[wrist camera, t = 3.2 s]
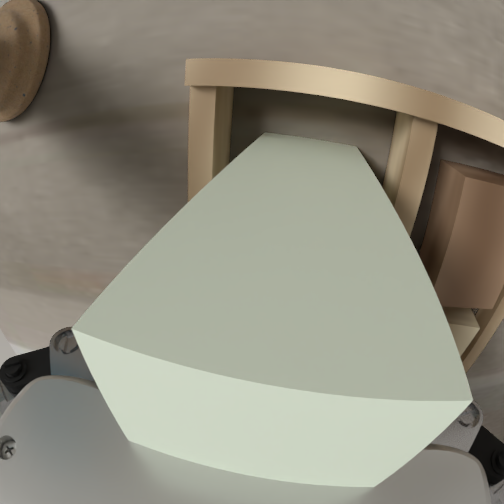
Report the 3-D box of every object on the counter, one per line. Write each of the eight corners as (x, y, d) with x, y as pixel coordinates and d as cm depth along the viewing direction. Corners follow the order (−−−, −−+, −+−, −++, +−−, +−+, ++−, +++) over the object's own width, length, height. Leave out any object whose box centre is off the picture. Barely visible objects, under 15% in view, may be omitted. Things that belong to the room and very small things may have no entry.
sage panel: (356, 146, 12) (472, 400, 2) (313, 333, 18) (286, 536, 8) (264, 132, 13) (71, 328, 3) (247, 322, 18) (184, 516, 8)
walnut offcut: (503, 174, 11) (534, 195, 9) (472, 275, 14) (492, 309, 12) (438, 158, 12) (465, 176, 9) (413, 269, 15) (427, 305, 12)
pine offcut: (463, 293, 15) (480, 328, 12) (427, 352, 17) (436, 387, 15) (406, 281, 15) (418, 318, 13) (375, 344, 18) (379, 382, 15)
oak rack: (551, 150, 9) (584, 167, 7) (445, 378, 18) (453, 411, 15) (213, 63, 12) (185, 59, 9) (208, 346, 20) (194, 380, 18)
